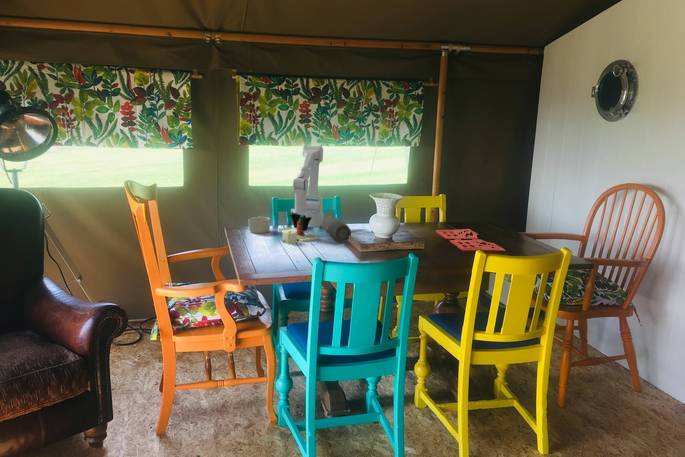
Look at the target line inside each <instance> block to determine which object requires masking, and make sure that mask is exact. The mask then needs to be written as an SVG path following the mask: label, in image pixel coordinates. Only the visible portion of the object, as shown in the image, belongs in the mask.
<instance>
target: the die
mask: <svg viewBox="0 0 685 457" xmlns="http://www.w3.org/2000/svg"><path fill="white" fill-rule="evenodd" d="M297 238H298V237H297V233H296V232H295V231H286V232H282V243H284V244H287V245H290V244H297V243H298V240H297Z"/></svg>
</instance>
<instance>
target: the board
mask: <svg viewBox="0 0 685 457" xmlns="http://www.w3.org/2000/svg"><path fill="white" fill-rule="evenodd" d="M276 230H277V231H280V232H282V233H283V232H286V231H294V232H297V229H296V228H292V227H281V228H276ZM304 233H305V235H303V236H297V242H300V243H305V242H311V241H318V240H320V237H319V236H317V235H316V236H315V235H312V234H310V233H309V234H308V233H306V232H304Z"/></svg>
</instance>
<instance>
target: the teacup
mask: <svg viewBox="0 0 685 457" xmlns="http://www.w3.org/2000/svg"><path fill="white" fill-rule="evenodd" d="M270 220H271V218H270V217H266V216H255V217H254V216H253V217H250V218H248V219H247V221H248V229H249V232H250V233H251V234H257V235H258V234H259V235H260V234H262V235H263V234H266V233H268V232H269V231H270V228H271V221H270Z"/></svg>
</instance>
